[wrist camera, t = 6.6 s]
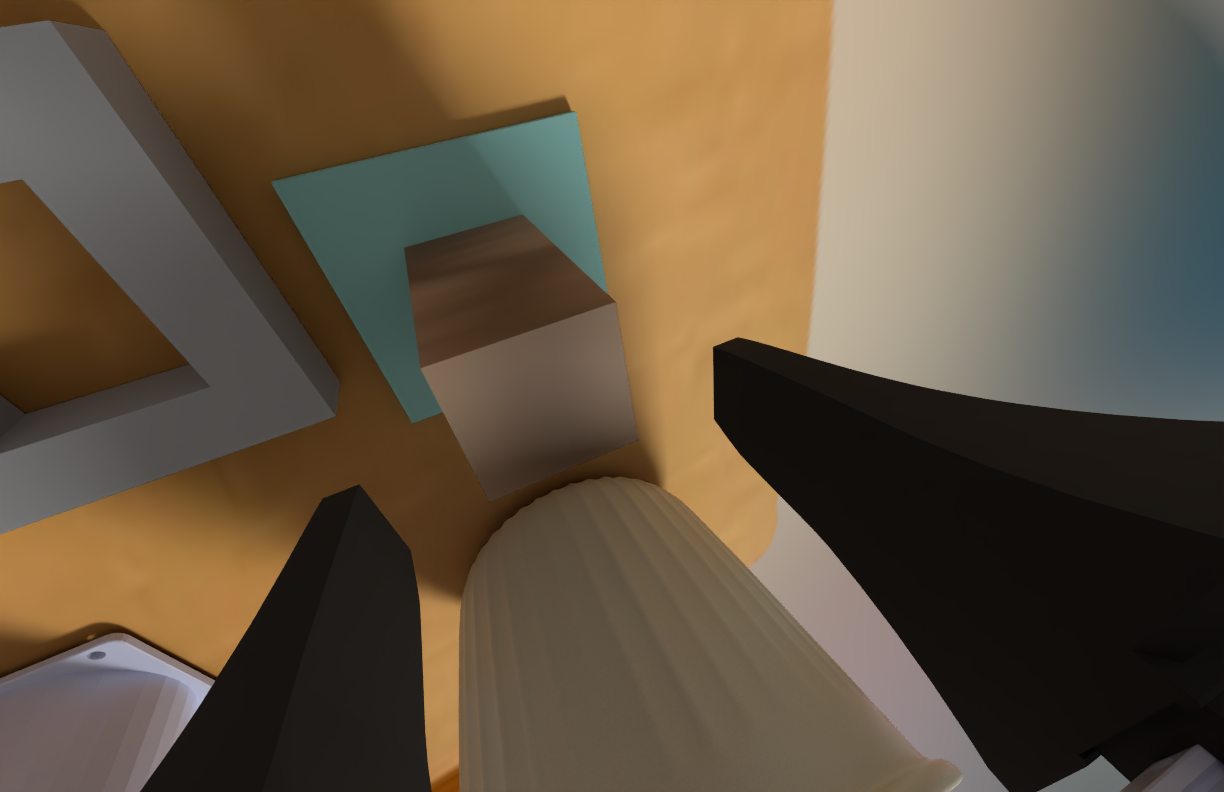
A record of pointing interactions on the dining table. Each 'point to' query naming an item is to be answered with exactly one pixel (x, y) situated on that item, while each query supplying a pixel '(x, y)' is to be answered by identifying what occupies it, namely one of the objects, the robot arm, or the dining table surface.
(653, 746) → the canister
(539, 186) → the mat
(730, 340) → the robot arm
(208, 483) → the dining table surface
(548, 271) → the walnut block
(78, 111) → the pocket plate
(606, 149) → the dining table surface
